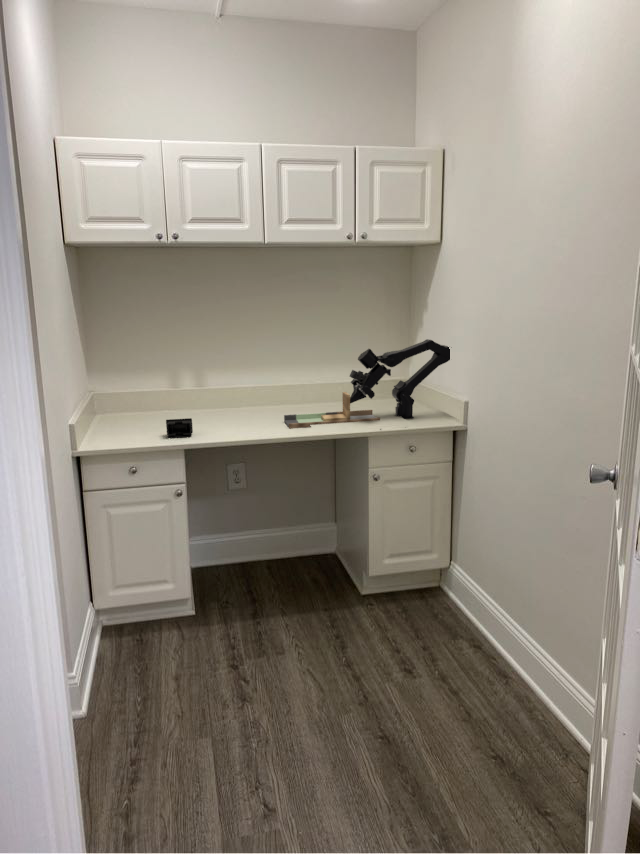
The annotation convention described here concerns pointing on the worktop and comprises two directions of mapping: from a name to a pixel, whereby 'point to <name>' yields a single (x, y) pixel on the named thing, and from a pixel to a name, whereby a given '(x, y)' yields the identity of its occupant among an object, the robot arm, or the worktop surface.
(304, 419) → the trap track
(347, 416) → the oak bookend
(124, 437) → the worktop surface
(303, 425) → the walnut front lip
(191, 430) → the end cap
